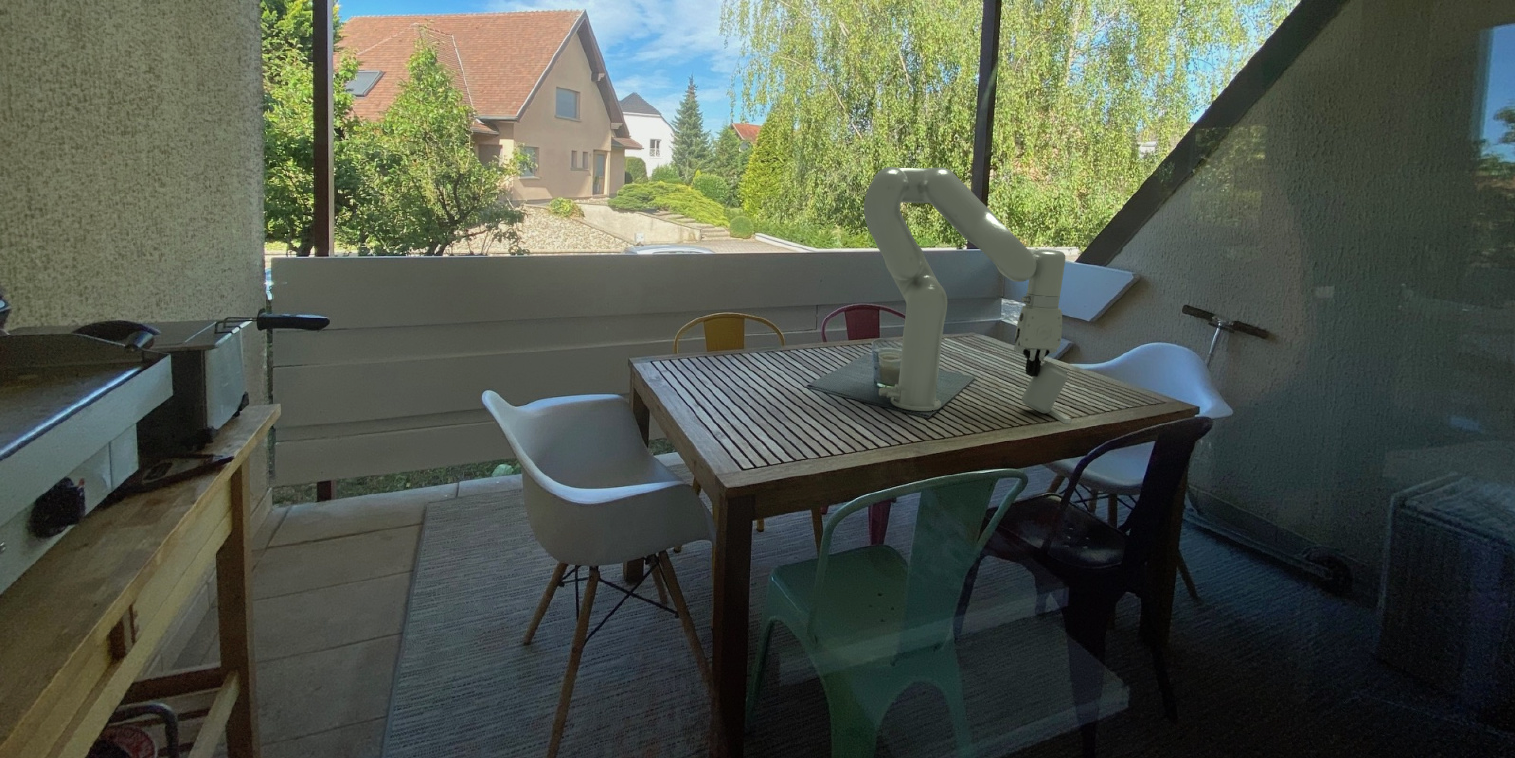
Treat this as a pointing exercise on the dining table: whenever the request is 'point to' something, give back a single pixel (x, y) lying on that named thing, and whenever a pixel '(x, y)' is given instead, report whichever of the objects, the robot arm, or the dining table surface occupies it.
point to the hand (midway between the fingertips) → (1031, 375)
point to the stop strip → (1060, 416)
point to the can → (1045, 387)
